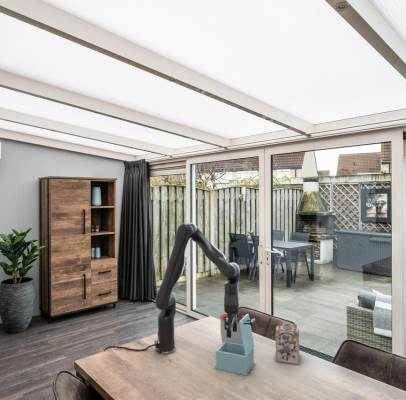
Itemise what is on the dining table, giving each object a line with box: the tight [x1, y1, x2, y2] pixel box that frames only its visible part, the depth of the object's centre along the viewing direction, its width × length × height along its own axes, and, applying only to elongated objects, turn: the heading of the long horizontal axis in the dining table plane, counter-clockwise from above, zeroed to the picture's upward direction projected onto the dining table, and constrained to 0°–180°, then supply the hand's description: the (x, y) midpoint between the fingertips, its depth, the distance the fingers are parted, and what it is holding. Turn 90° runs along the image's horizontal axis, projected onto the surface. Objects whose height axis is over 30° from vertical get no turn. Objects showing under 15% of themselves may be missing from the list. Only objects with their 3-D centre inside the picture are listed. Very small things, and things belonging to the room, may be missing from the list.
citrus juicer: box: [219, 313, 246, 345], centre depth 190 cm, size 16×17×20 cm
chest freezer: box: [215, 342, 255, 376], centre depth 166 cm, size 16×13×9 cm
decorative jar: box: [274, 322, 300, 365], centre depth 174 cm, size 12×12×18 cm
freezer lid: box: [239, 313, 257, 356], centre depth 162 cm, size 16×13×5 cm
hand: (231, 334), depth 167 cm, fingers open, 8 cm apart
